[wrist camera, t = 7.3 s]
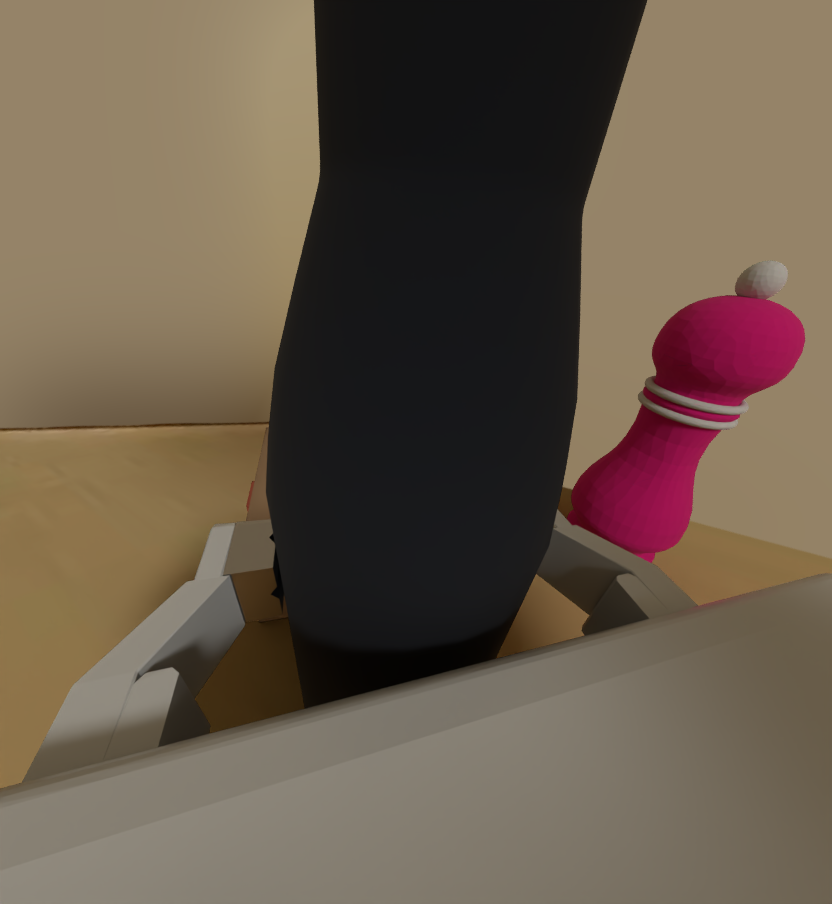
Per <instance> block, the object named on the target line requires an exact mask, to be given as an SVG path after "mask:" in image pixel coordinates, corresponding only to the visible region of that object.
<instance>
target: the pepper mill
mask: <svg viewBox="0 0 832 904" xmlns="http://www.w3.org/2000/svg"><path fill="white" fill-rule="evenodd" d="M787 276H788V272H787V268H786V267H785V266H784V265H783V264H781V263H780V262H776V261H764V262H759V263H757V264H754V265H752V266H751V267H749V268H748V269H746V270H745V271H744V272H743V273H742V274H741V275H740V277H739V278H738V279H737V282H736V285H735V292H736V294H737V296H732V295H731V296H730V295H729V296H728V295H727V296H719V297H712V298H708V299H704V300H700V301H697V302H695V303H692V304H690V305H688V306H687V307H685V308H683V309H681V310H680V311H678V312H677V313H676V314H675V315H674V316H673V317H671V318H670V319H669V320H668V321H667V322H666V324H665V326H663V328H662V329H661V331H660V332H659V334H658V336H657V338H656V340H655V342H654V345H653V349H652V358H653V362H654V365H655V367H656V371H657V372H656V376H652V377H649V378H647V379H646V381H645V387H644V389H643V391H641V392H640V393H639V394H638V400H639V401H640V402H641V403H642V405H641V408H640V410H639V413H638V415H637V418H636V420H635V422H634V424H633V425H632V427H631V428H630V430H629V432H628V433H627V435H626V436H625V437H624V438H623V440H622V441H621V442H620V443H619V444H618V445H617V446H616V447H615V448H614V449H613V450H612V451H610V452H609V453H608V454H606V455H605V456H603V457H602V458H600V459H599V460H598V461H597V462H595V463H594V464H592V465H591V466H590V467H589V468H588V469H587V470H586V471H585V472H584V473H583V474H582V475H581V476H580V478H579V479H578V481H577V483H576V484H575V486H574V488H573V491H572V495H571V501H572V505H573V508H574V509H573V510H572V511H571V512H570V513H569V514H568V516H567V520H568V521H569V523H570V524H571V525H577V526H579V527H581V528H583V529H585V530H587V531H589V532H591V533H593V534H595V535H597V536H599V537H601V538H603V539H605V540H607V541H609V542H611V543H613V544H615V545H617V546H618V547H620V548H622V549H624V550H626V551H628V552H630V553H632V554H634V555H636V556H638V557H640V558H642V559H644V560H646V561H648V562H650V563H651V562H652V561H653V559H654V557H655V553H656V552H660V551H665V550H667V549H669V548H671V547H673V546H675V545H676V544H677V543H678V542H679V540H680V539H681V537H682V536H683V534H684V532H685V531H686V529H687V527H688V524H689V520H690V516H691V513H692V503H693V486H694V477H695V471H696V469H697V466H698V463H699V460H700V458H701V456H702V455H703V453H704V451H705V450H706V448H707V446H708V445H709V443H710V442H711V441H712V440H713V439H714V438H715V437H716V435H717V434H718V433H719V432H720V431H721V430H727V429H732V428H734V427H735V426H736V425H737V424H738V420H737V419H738V418H739V417H740V414H742V413H745V412H746V411H747V410H748V404H747V403H746V402H745V401H744V399H745V398H747V397H748V396H750V395H751V394H754V393H756V392H759V391H761V390H763V389H766V388H768V387H770V386H773V385H775V384H777V383H778V382H780V381H781V380H782V379H784V378H785V377H786V376H787V374H789V372H790V371H791V370H792V369H793V368H794V366H795V364H796V362H797V361H798V359H799V357H800V355H801V353H802V351H803V347H804V343H805V333H804V328H803V325H802V323H801V321H800V320H799V319H798V318H797V317H796V316H795V315H794V314H793V313H792V311H790V310H789V309H787V308H785V307H783V306H782V305H780V304H777V303H775V302H772V301H770V300H766V299H767V298H769V297H771V296H773V295H775V294H776V293H777V292H779V291H780V289H781V288H782V287H783V286H784V284H785V283H786V280H787Z"/></svg>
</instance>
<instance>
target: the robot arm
mask: <svg viewBox="0 0 832 904" xmlns="http://www.w3.org/2000/svg"><path fill="white" fill-rule="evenodd" d="M536 574H537V575H539V576H540V577H541V578H543V579H544V580H545V581H546V582H548V583H549V584H550V585H552V586H553V587H554V588H555V589H557V590H558V591H559V592H560V593H562V594H563V595H564V596H566V597H567V598H568V599H569V600H571V601H572V602H573V603H575V604H576V605H577V606H578V607H580V608H581V609H582V610H584V611H585V612H586V613H587V614H589V617H588V618H587V620H586V621H585V623H584V624H583V626H582V632H583V633H584V635H585V636H581V637H578V638H574V639H570V640H566V641H562V642H558V643H555V644H551V645H547V646H543V647H539V648H535V649H532V650H528V651H524V652H520V653H516V654H512V655H509V656H505V657H501V658H497V659H493V660H489V661H486V662H482V663H478V664H474V665H470V666H466V667H463V668H459V669H455V670H451V671H447V672H443V673H440V674H436V675H432V676H428V677H424V678H420V679H417V680H413V681H409V682H405V683H401V684H397V685H394V686H390V687H386V688H382V689H378V690H374V691H371V692H367V693H363V694H359V695H355V696H351V697H348V698H344V699H340V700H336V701H332V702H329V703H325V704H321V705H317V706H313V707H309V708H306V709H302V710H298V711H294V712H290V713H286V714H283V715H279V716H275V717H271V718H267V719H264V720H260V721H256V722H252V723H248V724H244V725H241V726H237V727H233V728H229V729H225V730H221V731H218V732H214V733H210V734H209V731H210V724H209V722H208V721H207V719H206V717H205V716H204V714H203V712H202V711H201V709H200V707H199V706H198V704H197V702H196V701H195V697H196V696H197V694H198V693H199V691H200V690H201V689H202V687H203V686H204V684H205V683H206V681H207V680H208V678H209V677H210V675H211V674H212V673H213V671H214V670H215V668H216V667H217V665H218V664H219V662H220V661H221V659H222V658H223V657H224V655H225V654H226V652H227V651H228V649H229V648H230V646H231V645H232V644H233V642H234V641H235V639H236V638H237V636H238V635H239V633H240V632H241V630H242V629H243V628H244V626H245V623H247V622H251V621H256V620H261V619H266V618H270V617H275V616H280V615H282V614H283V601H284V590H283V585H282V579H281V574H280V569H279V563H278V557H277V552H276V546H275V541H274V536H273V530H272V524H271V519H267V520H255V521H243V522H237V523H225V524H215V525H214V526H213V527H212V529H211V531H210V534H209V537H208V540H207V543H206V546H205V549H204V552H203V555H202V558H201V561H200V564H199V567H198V570H197V573H196V576H195V579H194V580H193V581H187V582H185V583H184V584H183V585H182V586H181V587H180V588H179V589H178V590H177V591H176V592H175V593H173V594H172V595H171V596H170V597H169V598H168V599H167V600H166V601H165V602H164V603H162V604H161V605H160V606H159V607H158V608H157V609H156V610H155V611H154V612H153V613H151V614H150V615H149V616H148V617H147V618H146V619H145V620H144V621H143V622H142V623H141V624H139V625H138V626H137V627H136V628H135V629H134V630H133V631H132V632H131V633H130V634H128V635H127V636H126V637H125V638H124V639H123V640H122V641H121V642H120V643H119V644H117V645H116V646H115V647H114V648H113V649H112V650H111V651H110V652H109V653H108V654H107V655H105V656H104V657H103V658H102V659H101V660H100V661H99V662H98V663H97V664H96V665H94V666H93V667H92V668H91V669H90V670H89V671H88V672H87V673H86V674H85V675H83V676H82V677H81V678H80V679H79V680H78V681H77V682H76V683H75V684H74V685H73V686H72V688H71V690H70V691H69V693H68V695H67V697H66V699H65V701H64V703H63V705H62V707H61V709H60V711H59V712H58V714H57V716H56V718H55V720H54V722H53V724H52V726H51V728H50V730H49V732H48V734H47V735H46V737H45V739H44V741H43V743H42V745H41V747H40V749H39V751H38V753H37V755H36V756H35V758H34V760H33V762H32V764H31V766H30V768H29V770H28V772H27V774H26V776H25V777H24V779H23V781H22V783H19V784H15V785H11V786H7V787H4V788H0V904H832V574H830V573H825V574H818V575H814V576H811V577H807V578H803V579H800V580H796V581H792V582H788V583H784V584H780V585H777V586H773V587H769V588H765V589H761V590H757V591H753V592H750V593H746V594H742V595H738V596H734V597H731V598H727V599H723V600H719V601H715V602H711V603H708V604H704V605H700V606H698V605H697V604H696V603H695V602H694V601H693V600H692V599H691V598H690V597H689V596H688V595H687V594H686V593H685V592H683V591H682V590H681V589H680V588H679V587H678V586H677V585H676V584H675V583H674V582H673V581H672V580H671V579H670V578H669V577H668V576H667V575H666V574H665V573H664V572H663V571H662V570H661V569H660V568H659V567H658V566H656V565H654V564H652V563H650V562H648V561H646V560H644V559H642V558H640V557H638V556H636V555H634V554H632V553H630V552H628V551H626V550H624V549H622V548H620V547H618V546H617V545H615V544H613V543H611V542H609V541H607V540H605V539H603V538H601V537H599V536H597V535H595V534H593V533H591V532H589V531H587V530H585V529H583V528H581V527H579V526H577V525H571V524H570V523H569V521H568V520H567V519H566V518H565V517H564V516H563V515H562V514H561V513H560V511H559V510H558V509H557V513H556V518H555V522H554V527H553V531H552V536H551V540H550V545H549V548H548V550H547V552H546V554H545V556H544V558H543V560H542V562H541V564H540V566H539V568H538V571H537V573H536Z"/></svg>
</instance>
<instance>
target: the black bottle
mask: <svg viewBox="0 0 832 904" xmlns="http://www.w3.org/2000/svg"><path fill="white" fill-rule="evenodd" d="M646 3H647V0H314V12H315V39H316V66H317V92H318V117H319V143H320V177H319V184H318V189H317V192H316V197H315V201H314V205H313V209H312V213H311V217H310V221H309V225H308V229H307V234H306V238H305V241H304V245H303V250H302V254H301V258H300V262H299V266H298V270H297V274H296V278H295V282H294V287H293V291H292V295H291V300H290V304H289V308H288V313H287V317H286V321H285V326H284V330H283V335H282V339H281V343H280V348H279V352H278V356H277V361H276V365H275V371H274V381H273V391H272V401H271V412H270V421H269V431H268V447H267V471H266V497H267V502H268V508H269V513H270V519H271V524H272V530H273V536H274V541H275V546H276V552H277V557H278V563H279V569H280V574H281V579H282V585H283V590H284V596H285V602H286V607H287V613H288V618H289V624H290V629H291V635H292V640H293V646H294V651H295V657H296V663H297V668H298V674H299V679H300V685H301V690H302V696H303V701H304V707H305V709H306V708H309V707H313V706H317V705H321V704H325V703H329V702H332V701H336V700H340V699H344V698H348V697H351V696H355V695H359V694H363V693H367V692H371V691H374V690H378V689H382V688H386V687H390V686H394V685H397V684H401V683H405V682H409V681H413V680H417V679H420V678H424V677H428V676H432V675H436V674H440V673H443V672H447V671H451V670H455V669H459V668H463V667H466V666H470V665H474V664H478V663H482V662H486V661H489V660H493V659H496V656H497V654H498V652H499V650H500V648H501V646H502V644H503V642H504V640H505V638H506V636H507V633H508V631H509V629H510V627H511V625H512V623H513V621H514V619H515V617H516V615H517V612H518V610H519V608H520V606H521V604H522V602H523V600H524V598H525V596H526V594H527V592H528V589H529V587H530V585H531V583H532V581H533V579H534V577H535V575H536V573H537V571H538V568H539V566H540V564H541V562H542V560H543V558H544V556H545V554H546V552H547V550H548V548H549V545H550V540H551V536H552V531H553V527H554V522H555V518H556V513H557V509H558V504H559V500H560V495H561V491H562V486H563V480H564V475H565V470H566V465H567V459H568V452H569V446H570V440H571V434H572V428H573V421H574V415H575V409H576V403H577V388H578V359H579V331H580V291H581V243H582V240H581V239H582V215H583V208H584V204H585V201H586V197H587V194H588V190H589V188H590V184H591V181H592V178H593V174H594V171H595V168H596V165H597V162H598V158H599V155H600V152H601V149H602V145H603V142H604V139H605V136H606V132H607V129H608V126H609V123H610V120H611V116H612V113H613V110H614V106H615V103H616V100H617V96H618V94H619V90H620V87H621V84H622V81H623V77H624V74H625V71H626V67H627V64H628V61H629V58H630V54H631V51H632V48H633V45H634V42H635V38H636V35H637V32H638V28H639V26H640V22H641V19H642V16H643V12H644V9H645V6H646Z"/></svg>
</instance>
